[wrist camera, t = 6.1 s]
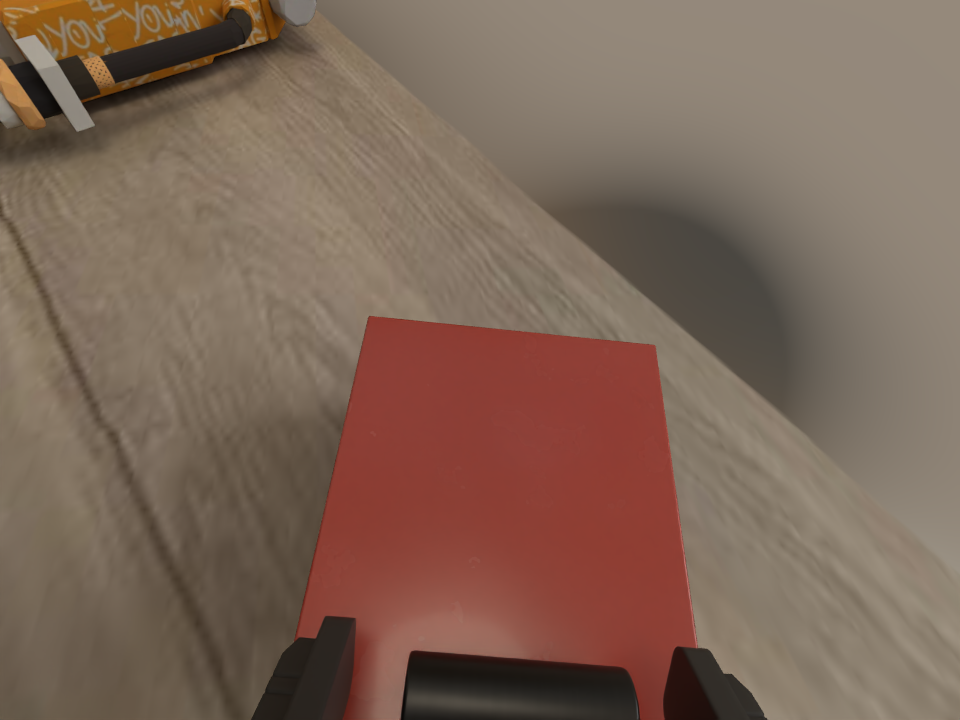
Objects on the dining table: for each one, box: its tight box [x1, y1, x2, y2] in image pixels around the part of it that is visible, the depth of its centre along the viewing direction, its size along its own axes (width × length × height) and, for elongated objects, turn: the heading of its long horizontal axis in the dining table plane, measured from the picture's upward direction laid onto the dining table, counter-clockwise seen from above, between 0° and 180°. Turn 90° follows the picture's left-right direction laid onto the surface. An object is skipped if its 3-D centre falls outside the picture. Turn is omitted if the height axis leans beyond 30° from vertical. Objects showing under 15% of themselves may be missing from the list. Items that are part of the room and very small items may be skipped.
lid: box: [294, 316, 698, 720], centre depth 16 cm, size 15×12×5 cm
